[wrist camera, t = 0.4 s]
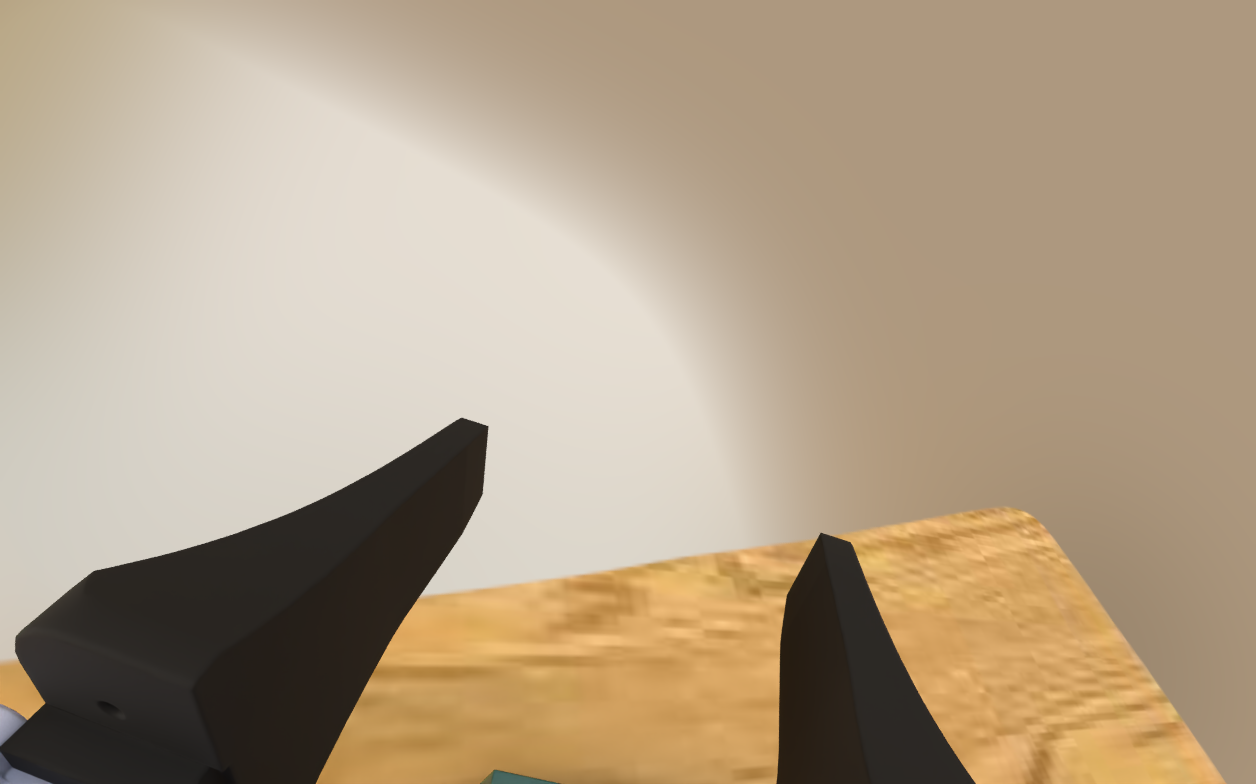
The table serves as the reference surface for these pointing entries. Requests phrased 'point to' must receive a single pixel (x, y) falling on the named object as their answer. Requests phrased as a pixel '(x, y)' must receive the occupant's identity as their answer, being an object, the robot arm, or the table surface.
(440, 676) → the table surface
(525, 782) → the tray
